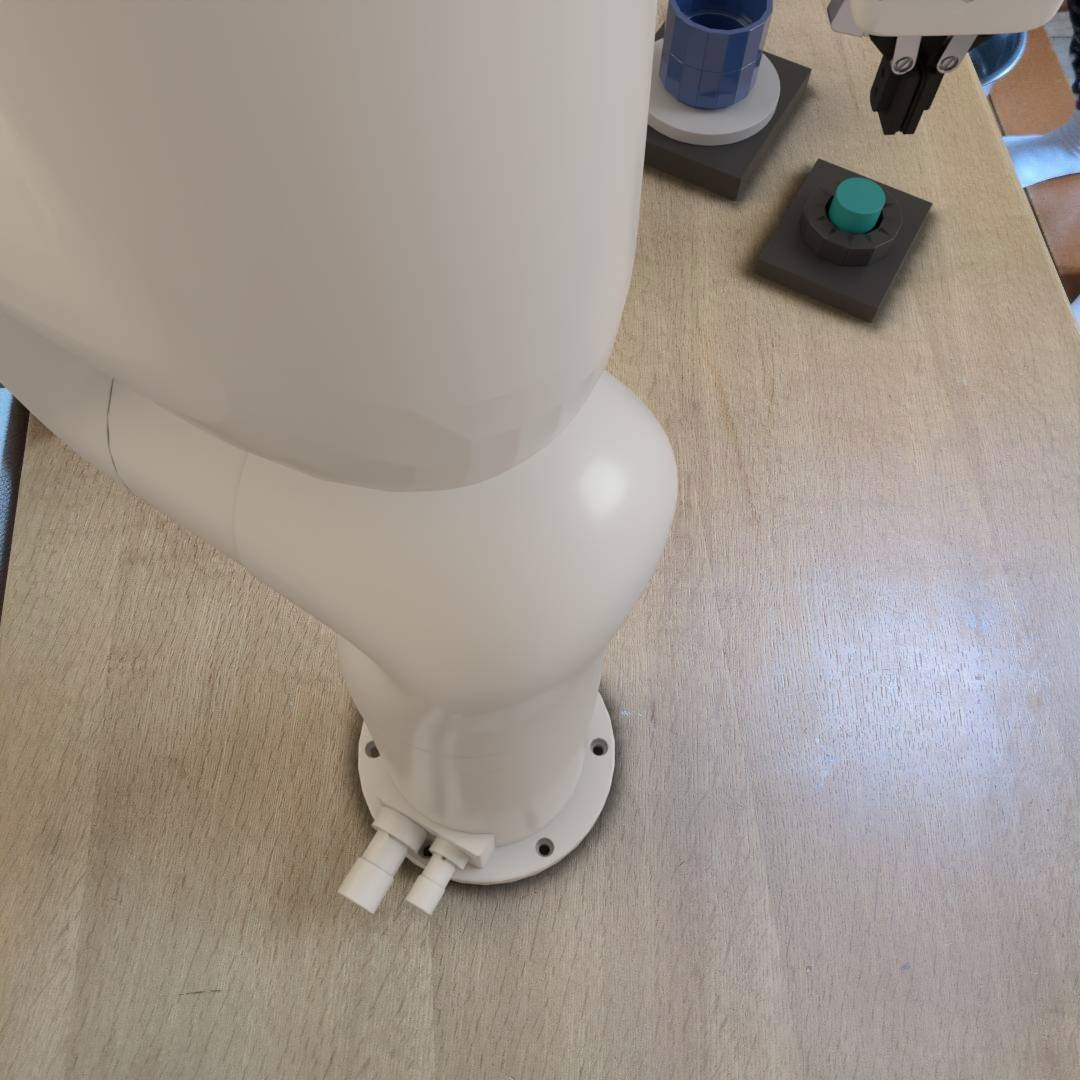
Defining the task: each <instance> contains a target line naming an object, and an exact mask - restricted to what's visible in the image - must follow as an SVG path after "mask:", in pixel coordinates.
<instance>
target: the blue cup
mask: <svg viewBox="0 0 1080 1080" xmlns="http://www.w3.org/2000/svg"><path fill="white" fill-rule="evenodd" d="M773 11H774V0H668V2H667V9H666V15H665V21H666V23H665V30H664V37H663V44H662V51H661V58H660V67H659V77H660V79H661V82H662V84H663V86H664V88H665V90H667V91H668V92H669V93H670V94H671V95H672V96H673V97H674V98H676V99H677V100H678V101H680V102H682V103H683V104H685V105H688V106H690V107H693V108H698V109H704V110H715V109H721V108H725V107H728V106H731V105H734V104H736V103H737V102H739V101H741V100H743V99H744V98H746V97H747V96H748V94H749V93H750V91H751V90H752V88H753V87H754V85H755V82H756V78H757V74H758V70H759V66H760V61H761V57H762V53H763V51H764V49H765V45H766V41H767V36H768V33H769V28H770V24H771V20H772V16H773Z"/></svg>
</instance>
